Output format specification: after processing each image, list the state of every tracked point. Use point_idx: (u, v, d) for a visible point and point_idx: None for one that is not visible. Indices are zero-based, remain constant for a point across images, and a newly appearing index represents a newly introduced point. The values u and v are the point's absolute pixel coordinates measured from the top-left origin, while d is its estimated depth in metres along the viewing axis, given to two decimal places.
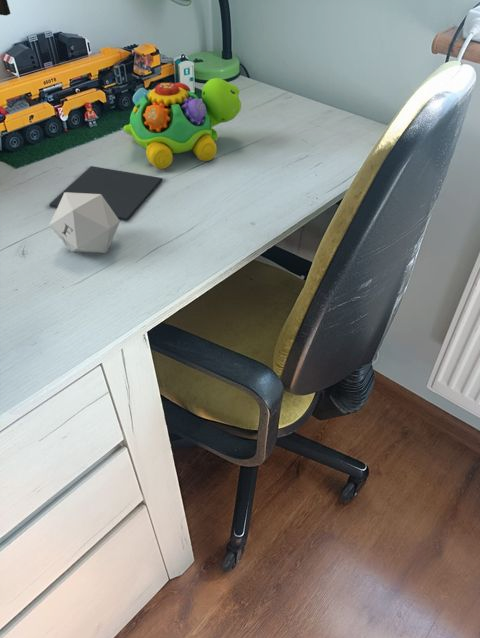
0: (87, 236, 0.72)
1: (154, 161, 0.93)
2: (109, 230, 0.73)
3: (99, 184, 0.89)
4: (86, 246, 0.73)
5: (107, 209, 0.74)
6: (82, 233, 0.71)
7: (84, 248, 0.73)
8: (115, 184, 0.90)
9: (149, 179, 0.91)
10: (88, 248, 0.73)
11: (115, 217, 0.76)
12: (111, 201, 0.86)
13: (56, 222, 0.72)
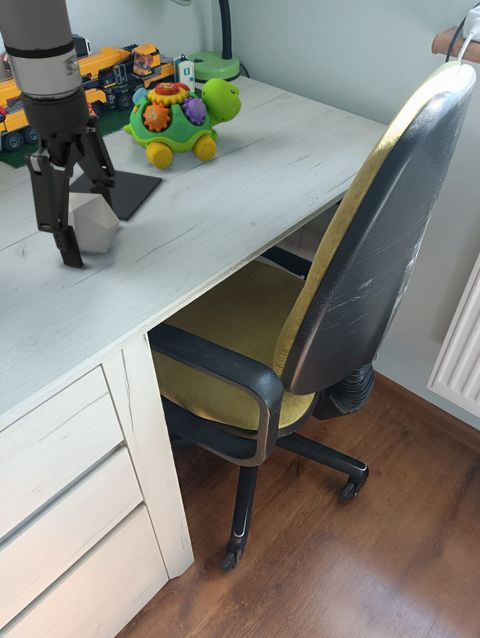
0: (87, 236, 0.72)
1: (154, 161, 0.93)
2: (109, 230, 0.73)
3: None
4: (86, 246, 0.73)
5: (107, 209, 0.74)
6: (82, 233, 0.71)
7: (84, 248, 0.73)
8: (115, 184, 0.90)
9: (149, 179, 0.91)
10: (88, 248, 0.73)
11: (115, 217, 0.76)
12: None
13: None
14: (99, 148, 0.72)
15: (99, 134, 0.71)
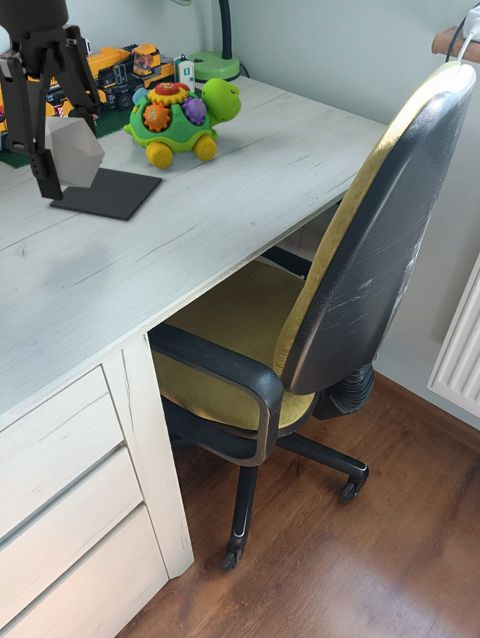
0: (67, 164, 0.64)
1: (154, 161, 0.93)
2: (92, 158, 0.65)
3: (99, 184, 0.89)
4: (66, 176, 0.65)
5: (91, 136, 0.66)
6: (62, 160, 0.64)
7: (64, 178, 0.65)
8: (115, 184, 0.90)
9: (149, 179, 0.91)
10: (69, 179, 0.66)
11: (100, 147, 0.68)
12: (111, 201, 0.86)
13: None
14: (81, 66, 0.65)
15: (81, 49, 0.64)
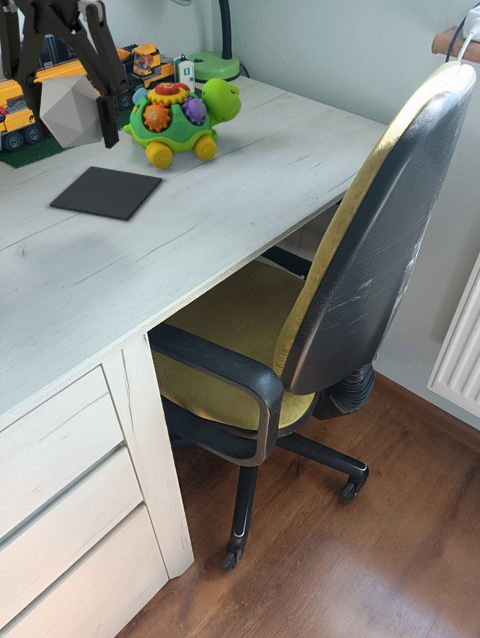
0: (40, 111, 0.69)
1: (154, 161, 0.93)
2: (46, 120, 0.67)
3: (99, 184, 0.89)
4: (43, 121, 0.70)
5: (66, 106, 0.66)
6: None
7: (44, 122, 0.71)
8: (115, 184, 0.90)
9: (149, 179, 0.91)
10: None
11: (75, 123, 0.67)
12: (111, 201, 0.86)
13: None
14: None
15: (94, 30, 0.60)
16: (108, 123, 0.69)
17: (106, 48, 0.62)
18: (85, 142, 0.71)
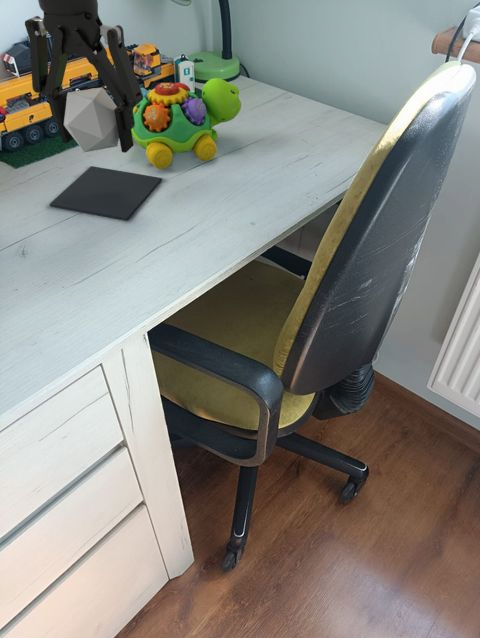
0: (65, 120, 0.78)
1: (154, 161, 0.93)
2: (71, 128, 0.77)
3: (99, 184, 0.89)
4: (67, 129, 0.80)
5: (88, 115, 0.76)
6: (65, 115, 0.79)
7: None
8: (115, 184, 0.90)
9: (149, 179, 0.91)
10: (70, 133, 0.80)
11: (96, 130, 0.77)
12: (111, 201, 0.86)
13: None
14: None
15: (114, 51, 0.70)
16: (124, 130, 0.79)
17: (124, 66, 0.72)
18: (104, 147, 0.81)
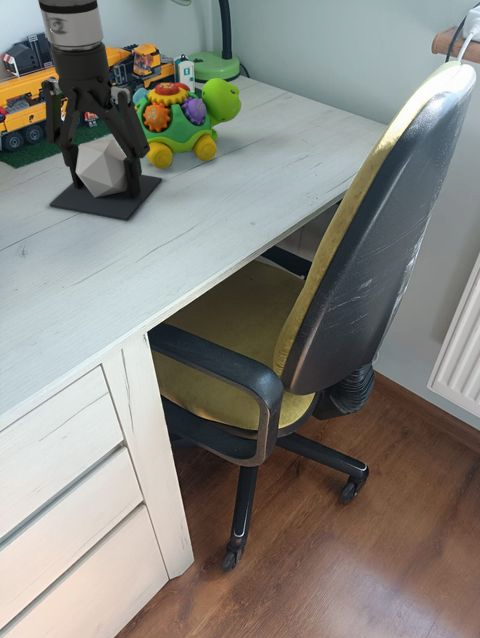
0: (77, 169, 0.84)
1: (154, 161, 0.93)
2: (83, 177, 0.82)
3: None
4: (79, 176, 0.86)
5: (99, 166, 0.82)
6: (77, 164, 0.84)
7: (79, 177, 0.86)
8: None
9: (149, 179, 0.91)
10: None
11: (106, 179, 0.82)
12: (111, 201, 0.86)
13: None
14: None
15: (123, 110, 0.76)
16: (132, 178, 0.84)
17: (133, 123, 0.77)
18: (113, 192, 0.87)
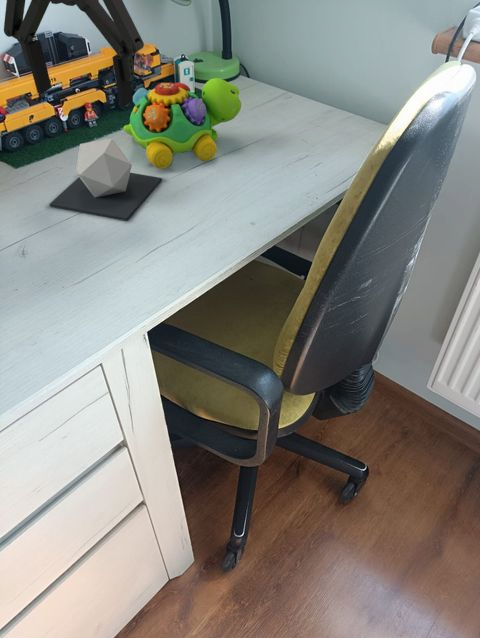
0: (77, 169, 0.84)
1: (154, 161, 0.93)
2: (83, 177, 0.82)
3: None
4: (79, 176, 0.86)
5: (99, 166, 0.82)
6: (77, 164, 0.84)
7: None
8: None
9: (149, 179, 0.91)
10: (81, 179, 0.86)
11: (106, 179, 0.82)
12: (111, 201, 0.86)
13: None
14: (108, 9, 0.67)
15: None
16: (123, 81, 0.73)
17: (117, 8, 0.67)
18: (113, 192, 0.87)
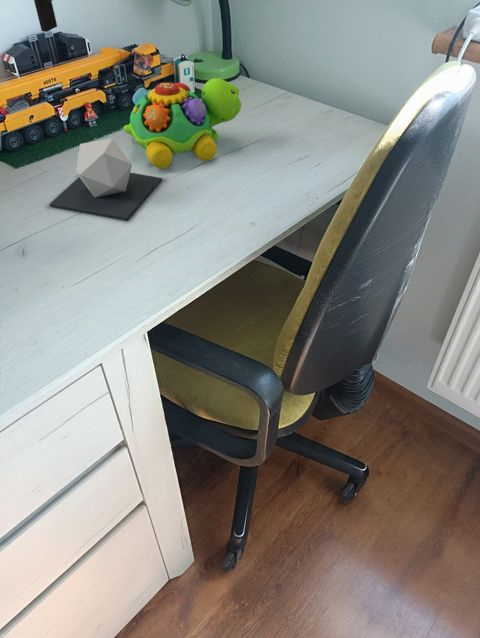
0: (77, 169, 0.84)
1: (154, 161, 0.93)
2: (83, 177, 0.82)
3: None
4: (79, 176, 0.86)
5: (99, 166, 0.82)
6: (77, 164, 0.84)
7: None
8: None
9: (149, 179, 0.91)
10: (81, 179, 0.86)
11: (106, 179, 0.82)
12: (111, 201, 0.86)
13: None
14: None
15: None
16: (42, 2, 0.68)
17: None
18: (113, 192, 0.87)
